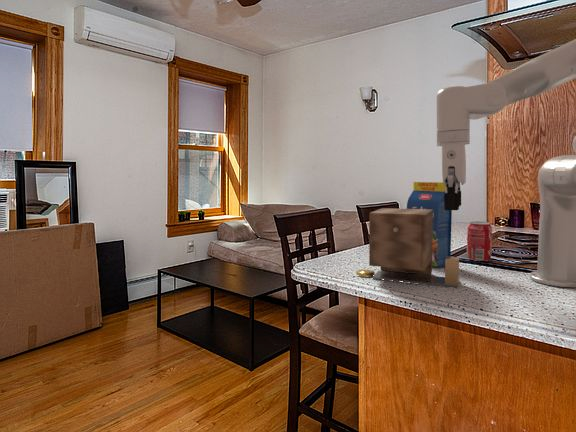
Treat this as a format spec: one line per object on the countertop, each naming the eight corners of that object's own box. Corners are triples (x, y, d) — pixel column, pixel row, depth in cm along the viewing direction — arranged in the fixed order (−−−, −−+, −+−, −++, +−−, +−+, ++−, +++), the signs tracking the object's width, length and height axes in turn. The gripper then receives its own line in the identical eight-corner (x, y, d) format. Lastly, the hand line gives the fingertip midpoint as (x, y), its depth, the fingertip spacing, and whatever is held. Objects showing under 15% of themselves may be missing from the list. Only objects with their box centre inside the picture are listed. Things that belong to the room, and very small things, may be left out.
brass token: (376, 274, 114) (376, 270, 113) (371, 279, 109) (371, 274, 109) (359, 273, 116) (359, 268, 116) (354, 277, 111) (354, 273, 111)
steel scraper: (459, 282, 105) (459, 256, 104) (456, 289, 98) (457, 261, 98) (378, 274, 114) (379, 250, 113) (372, 280, 108) (372, 254, 107)
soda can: (483, 257, 131) (485, 220, 129) (495, 262, 124) (497, 223, 122) (462, 258, 130) (463, 221, 129) (473, 263, 123) (474, 224, 122)
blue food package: (436, 268, 118) (438, 182, 115) (405, 261, 128) (406, 182, 125) (450, 265, 121) (453, 182, 118) (419, 258, 131) (420, 181, 129)
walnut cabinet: (431, 274, 112) (433, 209, 110) (423, 287, 99) (425, 215, 97) (381, 269, 118) (381, 208, 116) (368, 281, 106) (368, 213, 104)
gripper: (468, 136, 90) (467, 211, 92) (470, 139, 106) (470, 204, 108) (432, 138, 94) (433, 211, 96) (440, 141, 109) (440, 204, 111)
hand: (453, 207), depth 102 cm, fingers open, 9 cm apart
